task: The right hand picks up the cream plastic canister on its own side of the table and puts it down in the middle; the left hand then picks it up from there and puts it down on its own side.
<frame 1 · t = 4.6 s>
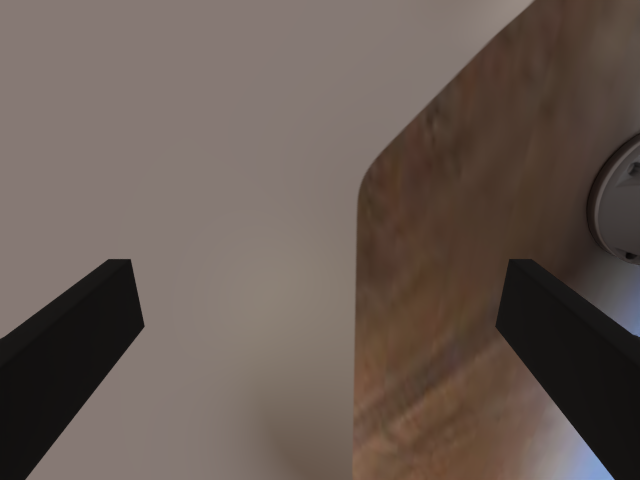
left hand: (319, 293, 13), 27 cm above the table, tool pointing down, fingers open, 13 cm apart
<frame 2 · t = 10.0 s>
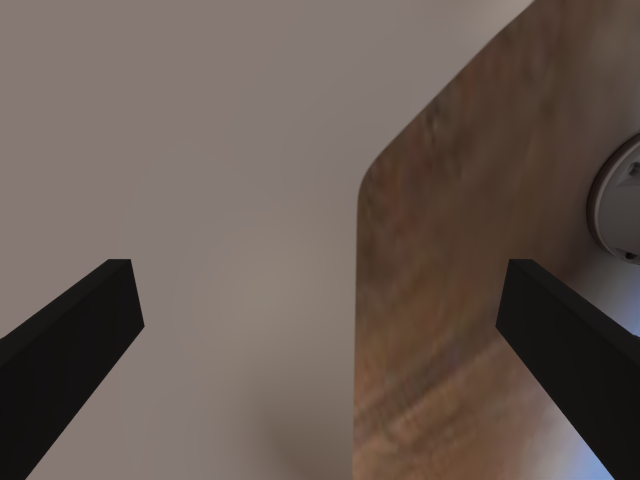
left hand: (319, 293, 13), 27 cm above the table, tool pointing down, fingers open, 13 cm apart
when the right hand's fingers open (3 cm above the table, at t = 15.8 s): canister drops 2 cm, on the table.
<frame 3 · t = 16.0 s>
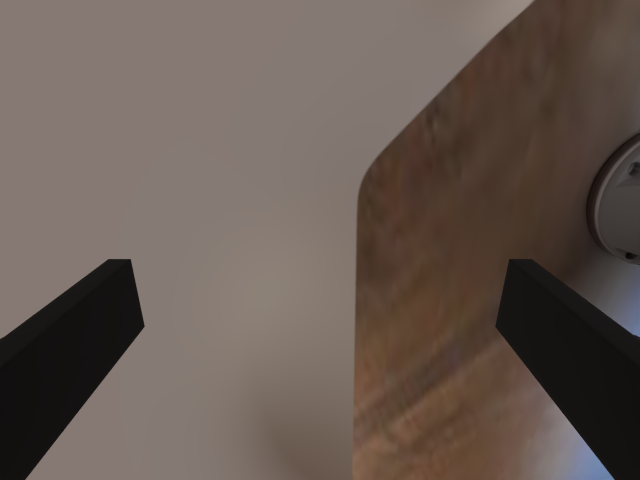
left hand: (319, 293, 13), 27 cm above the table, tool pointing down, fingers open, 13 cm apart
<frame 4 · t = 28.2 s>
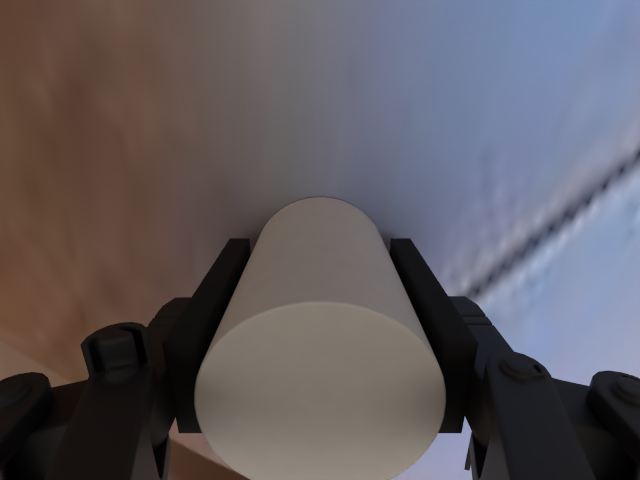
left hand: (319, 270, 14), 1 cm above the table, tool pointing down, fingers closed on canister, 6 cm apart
canister: (320, 259, 16), on the table, touching left hand
when the left hand's fingers open (3 cm above the table, at t = 33.9 s): canister drops 2 cm, on the table.
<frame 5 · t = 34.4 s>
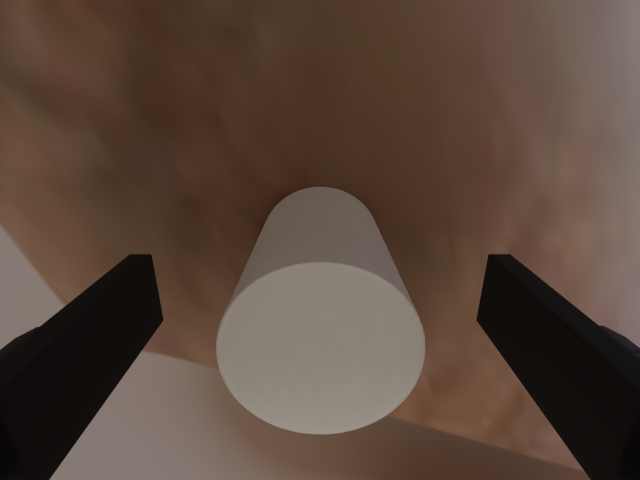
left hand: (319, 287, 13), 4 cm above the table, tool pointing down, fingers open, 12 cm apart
canister: (320, 243, 17), on the table
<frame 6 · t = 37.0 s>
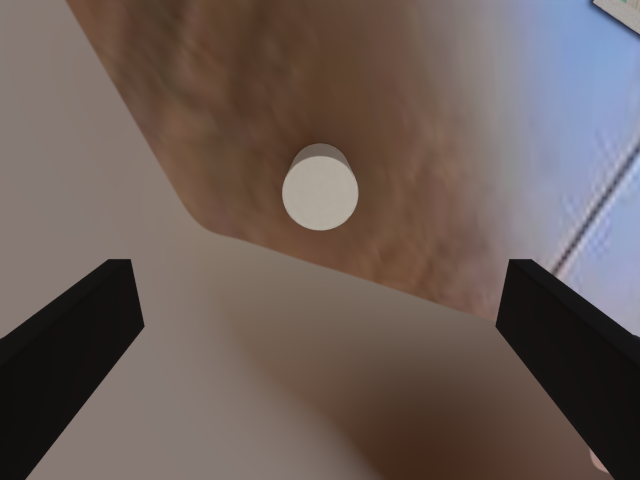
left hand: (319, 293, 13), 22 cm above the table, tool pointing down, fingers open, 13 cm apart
canister: (320, 173, 34), on the table
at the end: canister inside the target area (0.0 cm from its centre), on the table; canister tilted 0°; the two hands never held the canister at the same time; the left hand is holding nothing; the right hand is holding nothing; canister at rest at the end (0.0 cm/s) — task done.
